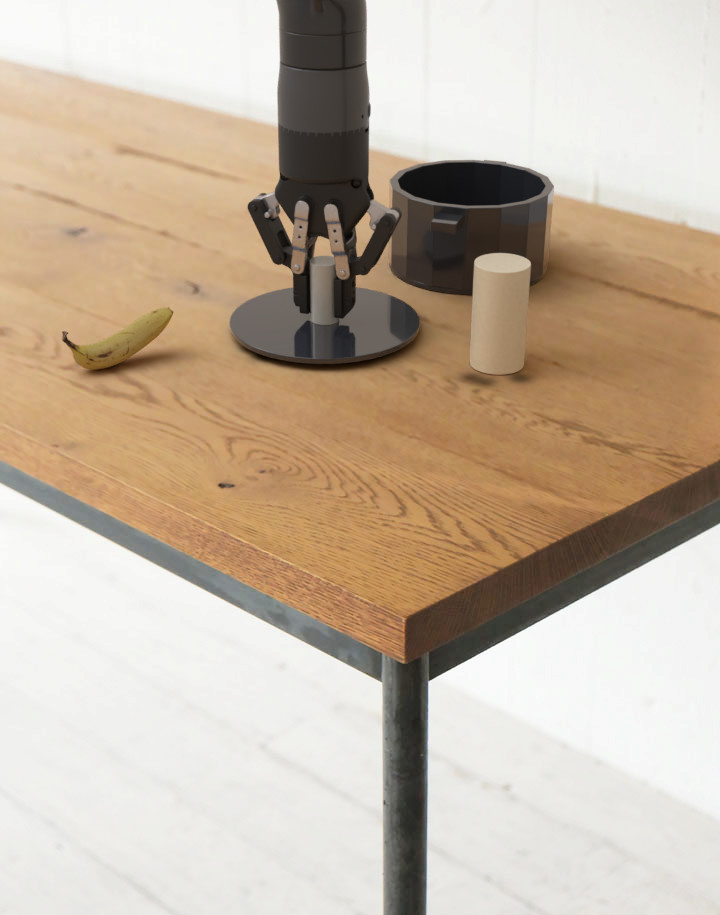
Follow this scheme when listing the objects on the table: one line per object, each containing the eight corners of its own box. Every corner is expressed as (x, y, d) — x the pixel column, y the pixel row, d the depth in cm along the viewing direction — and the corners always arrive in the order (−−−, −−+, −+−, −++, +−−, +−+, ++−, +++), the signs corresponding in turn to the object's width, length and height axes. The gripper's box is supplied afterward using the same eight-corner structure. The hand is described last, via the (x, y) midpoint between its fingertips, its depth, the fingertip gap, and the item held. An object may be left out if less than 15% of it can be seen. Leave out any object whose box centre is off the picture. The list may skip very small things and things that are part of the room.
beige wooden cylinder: (529, 356, 115) (536, 256, 111) (517, 378, 111) (524, 275, 107) (476, 349, 116) (481, 250, 112) (463, 370, 112) (468, 268, 108)
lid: (440, 308, 125) (443, 240, 121) (387, 382, 110) (389, 307, 107) (270, 287, 129) (269, 220, 126) (199, 355, 115) (195, 282, 112)
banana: (167, 344, 117) (164, 301, 115) (181, 353, 115) (178, 310, 113) (59, 372, 112) (54, 327, 110) (72, 382, 110) (67, 337, 108)
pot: (564, 240, 141) (570, 161, 137) (522, 313, 123) (528, 224, 119) (420, 225, 145) (422, 147, 141) (360, 293, 128) (361, 206, 124)
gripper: (226, 120, 109) (235, 318, 118) (391, 136, 106) (388, 339, 114) (261, 99, 116) (266, 289, 124) (417, 113, 112) (412, 307, 120)
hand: (324, 312), depth 119 cm, fingers closed on lid, 2 cm apart
